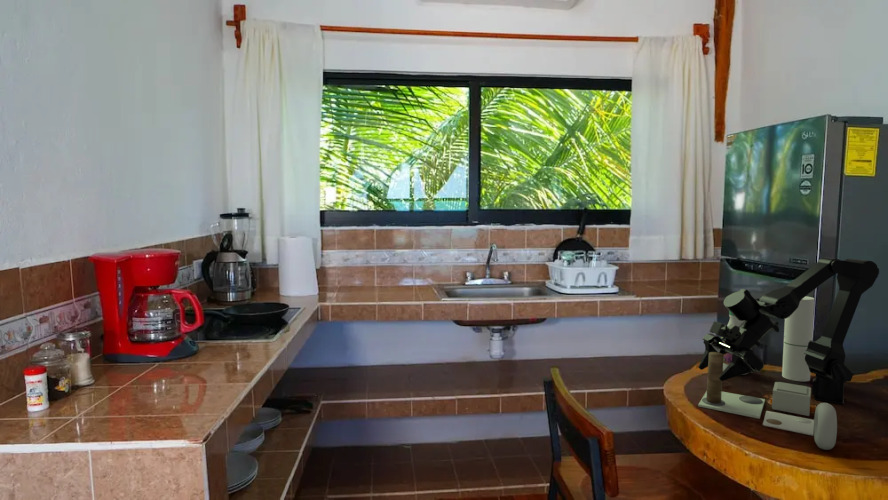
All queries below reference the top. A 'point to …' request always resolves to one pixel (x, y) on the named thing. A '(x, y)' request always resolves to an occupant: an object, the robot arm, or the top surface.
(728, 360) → the milk bottle
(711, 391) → the pin
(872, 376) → the top surface
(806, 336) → the cylindrical container
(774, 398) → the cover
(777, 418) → the card
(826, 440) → the donut
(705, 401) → the board
